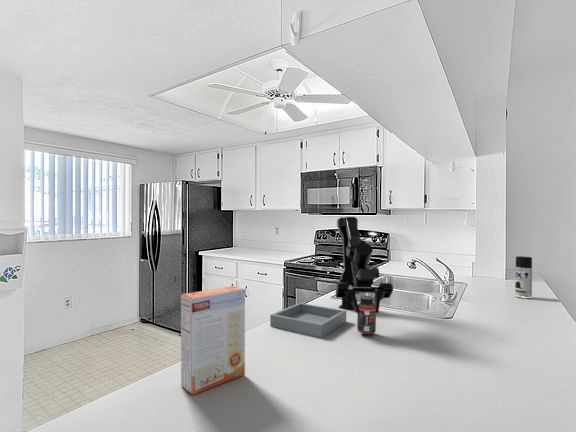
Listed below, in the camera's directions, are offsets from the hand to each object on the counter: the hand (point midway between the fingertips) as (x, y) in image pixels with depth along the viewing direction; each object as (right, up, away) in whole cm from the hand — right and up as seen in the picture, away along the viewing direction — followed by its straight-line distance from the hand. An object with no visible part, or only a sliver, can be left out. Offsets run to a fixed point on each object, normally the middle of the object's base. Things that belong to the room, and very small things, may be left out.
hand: (367, 312), depth 108 cm
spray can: (+90, -9, +56) cm, 106 cm away
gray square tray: (-18, -7, +12) cm, 23 cm away
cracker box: (-43, -7, -30) cm, 53 cm away
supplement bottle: (0, -7, +1) cm, 7 cm away
